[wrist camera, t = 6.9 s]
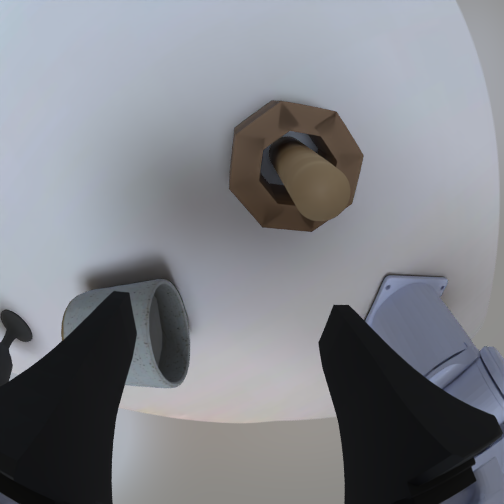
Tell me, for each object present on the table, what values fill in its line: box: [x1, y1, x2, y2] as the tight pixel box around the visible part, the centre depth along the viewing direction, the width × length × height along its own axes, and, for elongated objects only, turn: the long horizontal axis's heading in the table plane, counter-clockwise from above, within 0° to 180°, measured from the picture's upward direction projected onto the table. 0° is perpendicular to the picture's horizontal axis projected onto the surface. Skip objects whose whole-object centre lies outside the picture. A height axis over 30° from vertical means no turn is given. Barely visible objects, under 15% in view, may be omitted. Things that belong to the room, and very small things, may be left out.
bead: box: [229, 101, 363, 232], centre depth 15 cm, size 7×7×4 cm
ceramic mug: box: [61, 279, 190, 388], centre depth 19 cm, size 11×8×8 cm
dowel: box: [269, 137, 350, 221], centre depth 13 cm, size 2×2×8 cm
